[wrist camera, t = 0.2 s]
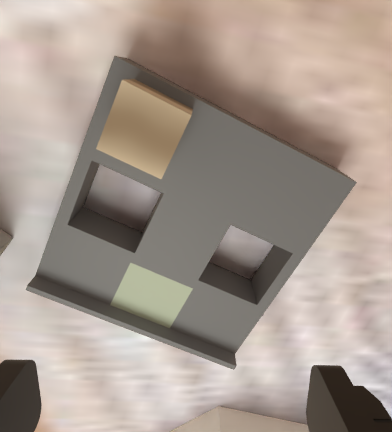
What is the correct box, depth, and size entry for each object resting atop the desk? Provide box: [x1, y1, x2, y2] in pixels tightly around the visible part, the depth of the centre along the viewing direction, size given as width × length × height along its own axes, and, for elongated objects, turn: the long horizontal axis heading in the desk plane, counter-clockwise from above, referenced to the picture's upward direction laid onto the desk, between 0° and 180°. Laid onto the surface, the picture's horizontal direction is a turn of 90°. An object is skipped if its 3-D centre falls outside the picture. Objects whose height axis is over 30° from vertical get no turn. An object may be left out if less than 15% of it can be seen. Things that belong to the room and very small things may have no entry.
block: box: [96, 79, 193, 179], centre depth 23 cm, size 4×4×4 cm
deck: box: [26, 56, 357, 370], centre depth 29 cm, size 20×20×6 cm
